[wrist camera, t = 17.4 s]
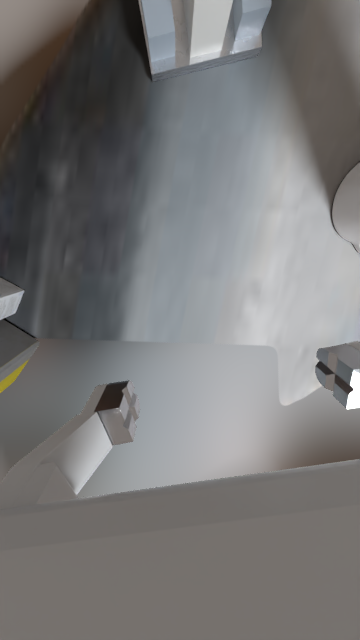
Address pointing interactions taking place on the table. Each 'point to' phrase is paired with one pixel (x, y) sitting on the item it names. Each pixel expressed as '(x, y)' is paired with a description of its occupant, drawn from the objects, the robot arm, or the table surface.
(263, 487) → the robot arm
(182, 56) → the grey flat base plate
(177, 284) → the table surface
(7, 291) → the light bulb box
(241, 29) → the mounted modules
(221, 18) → the block
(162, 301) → the table surface
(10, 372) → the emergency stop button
